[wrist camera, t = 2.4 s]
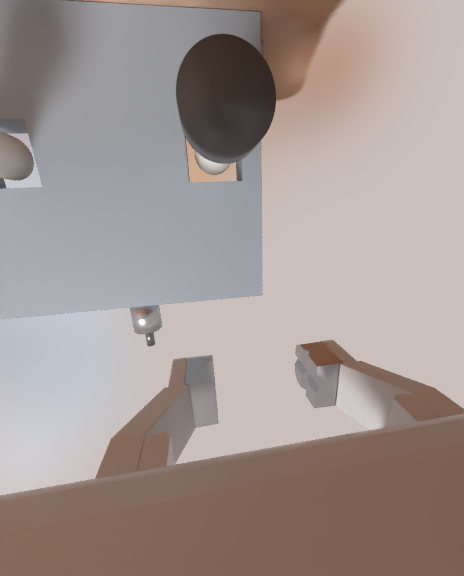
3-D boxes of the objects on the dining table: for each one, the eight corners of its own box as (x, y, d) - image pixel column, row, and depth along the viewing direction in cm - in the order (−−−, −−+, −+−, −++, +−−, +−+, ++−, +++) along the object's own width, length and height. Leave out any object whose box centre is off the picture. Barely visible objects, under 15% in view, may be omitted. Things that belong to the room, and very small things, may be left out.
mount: (-145, -12, 14) (-12, 320, 20) (273, 12, 17) (271, 294, 24) (-23, 69, 21) (45, 292, 28) (250, 75, 25) (254, 275, 31)
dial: (124, 306, 22) (133, 352, 24) (153, 305, 22) (160, 351, 24) (135, 297, 25) (143, 338, 26) (161, 295, 25) (167, 337, 26)
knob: (169, 31, 10) (181, 155, 11) (276, 36, 10) (275, 154, 11) (183, 123, 19) (189, 184, 20) (238, 123, 20) (240, 182, 21)
